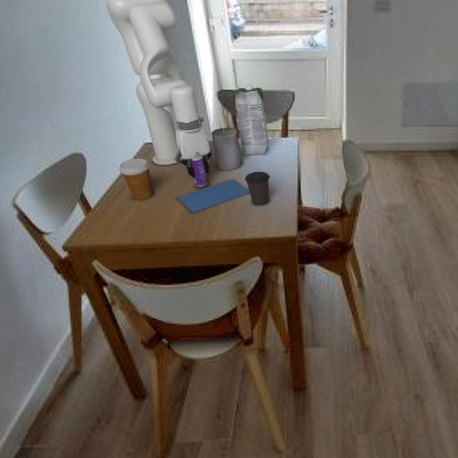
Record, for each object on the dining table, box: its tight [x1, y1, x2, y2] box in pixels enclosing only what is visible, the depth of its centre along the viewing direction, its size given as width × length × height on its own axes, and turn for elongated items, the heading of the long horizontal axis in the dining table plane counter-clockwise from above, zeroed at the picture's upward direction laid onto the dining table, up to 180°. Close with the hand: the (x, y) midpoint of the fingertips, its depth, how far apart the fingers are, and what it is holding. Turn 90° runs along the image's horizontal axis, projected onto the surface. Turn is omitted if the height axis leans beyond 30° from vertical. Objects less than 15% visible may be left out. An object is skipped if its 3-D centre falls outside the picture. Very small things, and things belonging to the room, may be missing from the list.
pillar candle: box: [211, 127, 243, 171], centre depth 166 cm, size 10×10×15 cm
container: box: [191, 152, 209, 188], centre depth 151 cm, size 5×5×15 cm
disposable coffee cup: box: [118, 158, 153, 201], centre depth 147 cm, size 10×10×12 cm
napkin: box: [177, 179, 250, 213], centre depth 149 cm, size 13×21×1 cm, turn 129°
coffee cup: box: [244, 171, 271, 206], centre depth 142 cm, size 8×8×10 cm
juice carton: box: [234, 84, 269, 156], centre depth 174 cm, size 9×10×27 cm
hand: (199, 173), depth 153 cm, fingers closed on container, 4 cm apart
